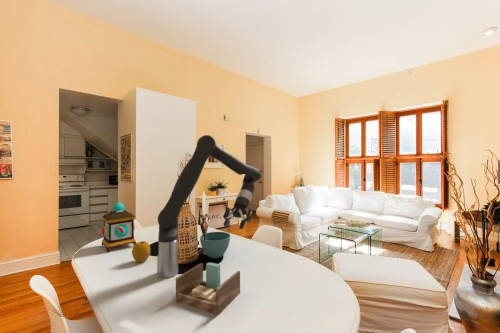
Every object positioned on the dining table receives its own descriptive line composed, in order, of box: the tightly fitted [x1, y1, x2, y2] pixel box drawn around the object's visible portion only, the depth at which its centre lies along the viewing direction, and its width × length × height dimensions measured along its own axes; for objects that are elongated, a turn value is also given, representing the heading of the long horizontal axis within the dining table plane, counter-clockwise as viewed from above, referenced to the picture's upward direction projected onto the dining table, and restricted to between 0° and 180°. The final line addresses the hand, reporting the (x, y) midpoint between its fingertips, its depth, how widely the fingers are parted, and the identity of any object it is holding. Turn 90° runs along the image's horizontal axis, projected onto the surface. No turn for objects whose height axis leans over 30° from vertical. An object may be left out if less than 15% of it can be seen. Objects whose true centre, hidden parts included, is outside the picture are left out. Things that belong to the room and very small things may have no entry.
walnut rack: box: [175, 262, 241, 316], centre depth 95 cm, size 20×16×10 cm
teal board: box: [205, 262, 221, 290], centre depth 97 cm, size 6×2×12 cm, turn 64°
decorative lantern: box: [101, 202, 137, 253], centre depth 162 cm, size 20×20×30 cm
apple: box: [131, 240, 151, 263], centre depth 135 cm, size 10×10×12 cm
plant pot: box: [199, 231, 231, 259], centre depth 142 cm, size 18×18×12 cm
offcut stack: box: [192, 285, 216, 303], centre depth 91 cm, size 9×5×4 cm, turn 64°
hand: (232, 227), depth 112 cm, fingers open, 8 cm apart
